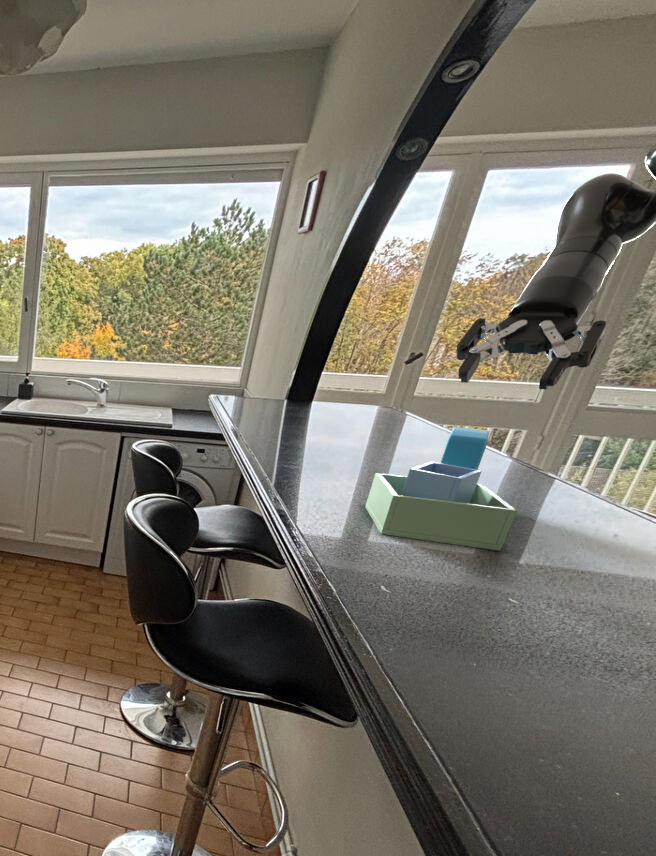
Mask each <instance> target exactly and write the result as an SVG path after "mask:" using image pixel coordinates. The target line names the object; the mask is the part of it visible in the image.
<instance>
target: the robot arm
mask: <svg viewBox="0 0 656 856" xmlns="http://www.w3.org/2000/svg"><path fill="white" fill-rule="evenodd" d="M644 163H645V167H646V169H647V170H648V172H649V173H650V174H651V176H652V177H653V178H654V179H655V180H656V144H655V145H654V146H652V148H651V149H650V150H649V151H648V152H647V154H646V156H645V159H644ZM655 224H656V188H654V189H652V190H651V189H649V188H647V187H646V186H644V185H641V184H640V183H637V182H635V181H634V180H631V179H630V178H628V177H626V176H624V175H622V174H619V173H611V172H610V173H604V174H601V175H598V176H595V177H593V178H591V179H589V180H587V181H585V182H584V183H583V184H582V185H580V186H579V187H578V188H577V189H576V190H575V191H574V192H573V193H572V194H571V195H570V196H569V198H568V199H567V200H566V202H565V203H564V205H563V207H562V209H561V211H560V213H559V217H558V221H557V226H556V231H555V238H554V242H553V248H552V249H551V251H550V253H549V254H548V255H547V256H546V257H547V258H546V259H545V260H544V261H543V263H542V265H541V266H540V267H539V269H537V271H536V272H535V273H534V275H532V277H531V279H530V280H529V282H528V283H527V284H526V286H525V288H524V289H523V291H522V292H521V294H520V295H519V297H518V298H517V299H516V301H515V302H514V303H515V304H513V306H512V308H511V309H510V311H509V312H508V315H507V316H506V318H505V319H503V320H501V321H500V322H499V323H490V322H486V321H487V320H486V318H477V319H475V320H474V322H473V323H472V325H471V326H470V327H469V329H468V330H467V331H466V333H465V334H464V335H463V337H462V338H461V339H460V341H458V343H457V345H456V360H457V361H463V362H462V363H461V365H460V366H459V368H458V379H460V383H464V384H468V383H469V382H470V381H471V379H472V377H473V376H474V374H475V372H476V371H477V369H478V368H479V367H480V363H482V362H484V361H486V360H489V359H495V358H497V357H499V356H502V355H504V354H505V353H507V352H508V354H527V355H538V354H540V353H543V354H544V355H545V356H546V358H547V359H548V361H549V362H550V363H549V364H548V366H547V367H546V368H545V370H544V372H543V374H542V375H541V377H540V379H539V385H538V389H539V390H543V391H545V390H548V388H549V387H555V386H556V385H557V384H558V382H559V380H560V379H561V378H562V376H563V374H564V373H565V371H566V370H568V369H569V368H571V367H578V368H581V369H584V368H587V367H590V365H591V363H592V362H593V359H594V357H595V355H596V353H597V351H598V349H599V347H600V346H601V343H602V341H603V339H604V337H605V332H606V328H607V327H606V326H607V322H606V321H605V320H596V321H594V322H593V323H592V324H591V325H579V322H580V321H581V319H582V317H583V316H584V315H585V313H586V311H587V310H588V308H589V307H590V305H591V303H592V301H594V300H595V298H596V297H597V295H598V293H599V290H600V289H601V287H602V286H603V285H602V284H603V283H604V281H605V280H604V279H605V278H606V275H607V274H608V272H609V270H610V269H611V267H612V265H614V262H615V260H617V257H618V256H619V254H620V253H621V249H622V246H623V244H626V243H629V242H631V241H634V240H636V239H637V238H639V237H641V236H642V235H644V234H645V233H646V232H647V231H648V230H649V229H651V228H652V227H653V226H654V225H655ZM576 336H577V337H579V341H580V342H582V344H581V346H580V348H579V350H578V351H573V352H571V351H570V349H569V348H568V347H567V345H566V343H565V342H568V341H570V340H571V339H573V338H575V337H576ZM482 340H485V341H483V342H481V341H482ZM479 342H481V343H479ZM499 343H500V345H499Z"/></svg>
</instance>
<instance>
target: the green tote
mask: <svg viewBox="0 0 656 856" xmlns="http://www.w3.org/2000/svg"><path fill="white" fill-rule="evenodd" d="M407 476H408V475H397V474H389V473H379V472H375V474H374V476H373V480H372V484H371V487H370V490H369V493H368V497H367V500H366V503H365V509H366V511H367V512H368V514H369V517H370V518H371V519H372V521H373V523H374V524H375V526H376V527H377V530H378V531H379V533H380V534H381V535H385V536H393V537H400V538H407V539H413V540H422V541H429V542H434V543H435V542H436V543H443V544H450V545H455V546H456V545H457V546H464V547H471V548H476V549H477V548H478V549H484V550H492V551H499V552H501V550H502V548H503V545H504V543H505V540H506V538H507V536H508V533H509V531H510V529H511V526H512V523H513V521H514V519H515V516H516V514H517V509H515V507H513V506H511V504H509V503H508V502H507V501H505V500H504V499H503V498H501V497H500V496H498V495H497V494H496V493H495V492H493V491H492V490H490V489H489V488H488V487H487V486H485V485H484V484H482V483H477V485H476V488H475V490H474V493H473V496H472V498H471V501H470V504H468V503H460V502H452V501H443V500H435V499H426V498H418V497H410V496H401V495H402V492H403V489H404V485H405V482H406V479H407Z"/></svg>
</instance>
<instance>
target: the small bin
mask: <svg viewBox="0 0 656 856" xmlns="http://www.w3.org/2000/svg"><path fill="white" fill-rule="evenodd" d="M481 474H482V470H481V469H478V470H476V469H470V468H465V467H459V466H454V465H448V464H442V463H440V462H436V461H428V462H425V463H423V464H420V465H417V466H414V467H411V468H409V470H408V473H407V475H406V476H407V479H406V482H405V485H404V489H403V492H402V495H401V496H410V497H418V498H426V499H435V500H443V501H452V502H460V503H468V504H470V501H471V498H472V496H473V493H474V490H475V488H476V485H477V484H478V482H479V479H480V477H481Z"/></svg>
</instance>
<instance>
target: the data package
mask: <svg viewBox="0 0 656 856" xmlns="http://www.w3.org/2000/svg"><path fill="white" fill-rule="evenodd" d="M489 435H490V431H489V430H487V429H480V428H479V429H478V428H471V427H462V426H454V427H452V430H451V432H450V434H449V437H448V439H447V442H446V445H445V448H444V451H443V454H442V457H441V459H440V462H439V463H442V464H448V465H454V466H459V467H465V468H470V469H476V470H479V467H480V464H481V461H482V459H483V456H484V453H485V450H486V449H487V445H488V442H489Z"/></svg>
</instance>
